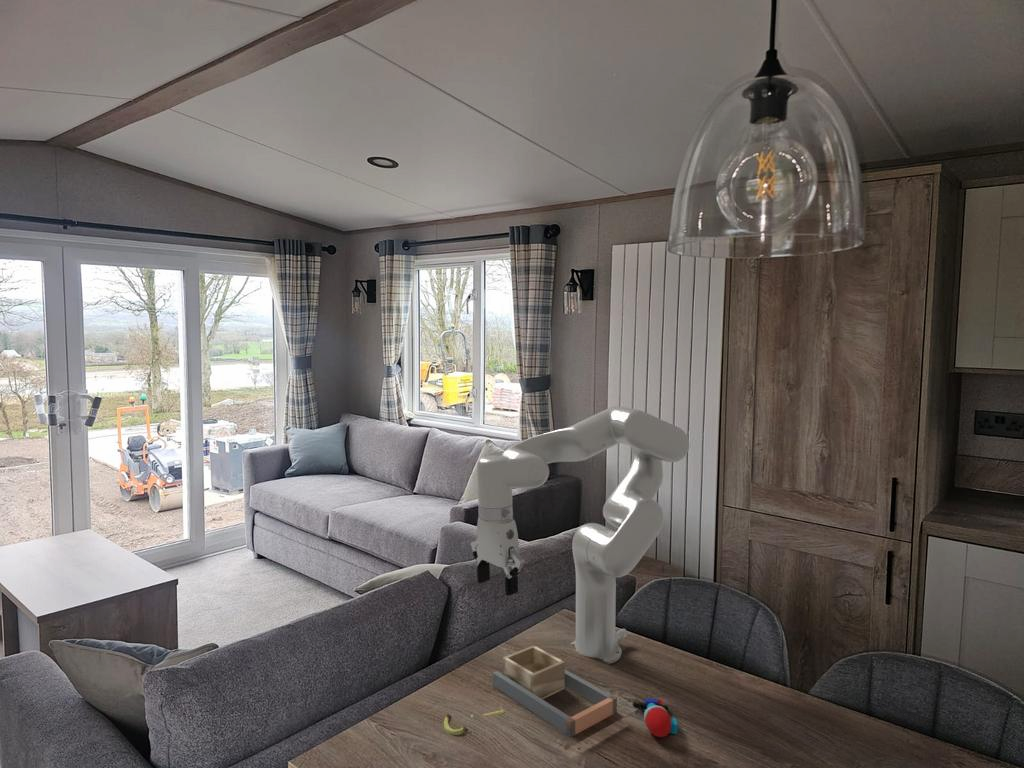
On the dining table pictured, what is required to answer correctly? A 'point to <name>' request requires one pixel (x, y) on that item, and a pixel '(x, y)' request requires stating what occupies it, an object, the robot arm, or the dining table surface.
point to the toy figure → (657, 717)
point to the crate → (535, 671)
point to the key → (463, 729)
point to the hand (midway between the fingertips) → (497, 587)
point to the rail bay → (554, 716)
